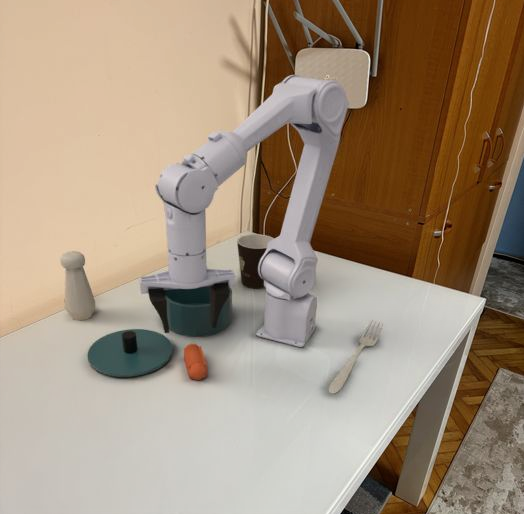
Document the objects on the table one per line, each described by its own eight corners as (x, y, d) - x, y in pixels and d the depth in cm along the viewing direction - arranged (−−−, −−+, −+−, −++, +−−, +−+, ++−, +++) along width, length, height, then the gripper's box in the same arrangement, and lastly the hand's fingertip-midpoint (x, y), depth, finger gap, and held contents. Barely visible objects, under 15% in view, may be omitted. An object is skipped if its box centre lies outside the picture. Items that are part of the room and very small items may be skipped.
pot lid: (188, 348, 92) (188, 328, 90) (135, 390, 81) (132, 368, 79) (127, 326, 98) (125, 306, 95) (70, 362, 87) (65, 341, 85)
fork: (321, 390, 83) (322, 381, 82) (368, 326, 101) (370, 318, 100) (340, 397, 82) (341, 388, 81) (384, 331, 100) (386, 323, 99)
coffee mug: (274, 291, 113) (276, 249, 108) (235, 290, 113) (235, 247, 108) (274, 270, 123) (276, 230, 118) (238, 268, 123) (238, 228, 117)
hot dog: (209, 382, 84) (208, 367, 82) (190, 384, 83) (190, 369, 81) (199, 353, 91) (199, 339, 89) (183, 355, 90) (182, 341, 88)
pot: (243, 314, 104) (244, 285, 100) (206, 343, 94) (205, 313, 90) (189, 297, 109) (188, 270, 106) (149, 324, 99) (146, 294, 95)
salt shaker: (88, 324, 98) (77, 261, 91) (60, 320, 99) (48, 258, 92) (102, 310, 103) (93, 249, 96) (76, 306, 104) (65, 246, 97)
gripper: (228, 236, 81) (228, 311, 88) (135, 242, 77) (142, 319, 84) (239, 253, 75) (237, 331, 82) (138, 260, 71) (146, 342, 78)
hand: (190, 327), depth 83 cm, fingers open, 7 cm apart
